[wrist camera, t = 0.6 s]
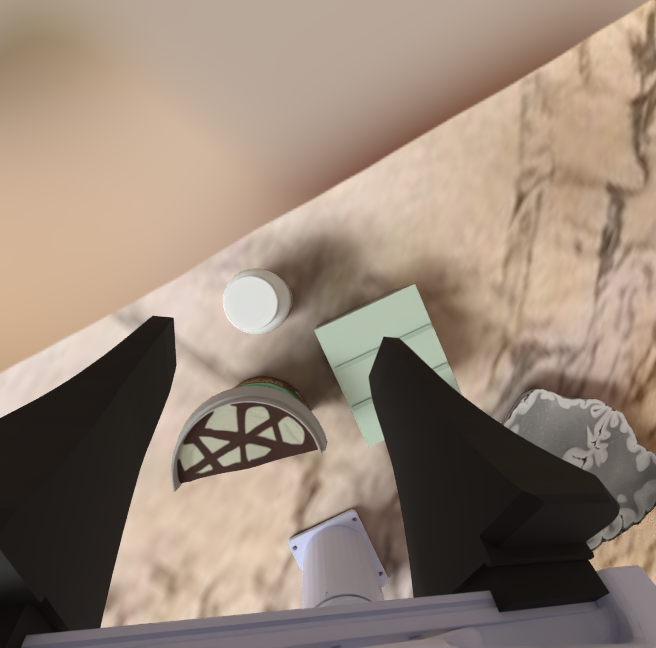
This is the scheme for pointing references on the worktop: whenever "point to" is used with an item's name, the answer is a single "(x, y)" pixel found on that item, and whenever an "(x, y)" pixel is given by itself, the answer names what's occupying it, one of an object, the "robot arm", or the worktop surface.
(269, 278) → the pill bottle
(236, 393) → the food container
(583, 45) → the worktop surface
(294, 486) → the worktop surface
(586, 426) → the brain slice
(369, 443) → the lid
